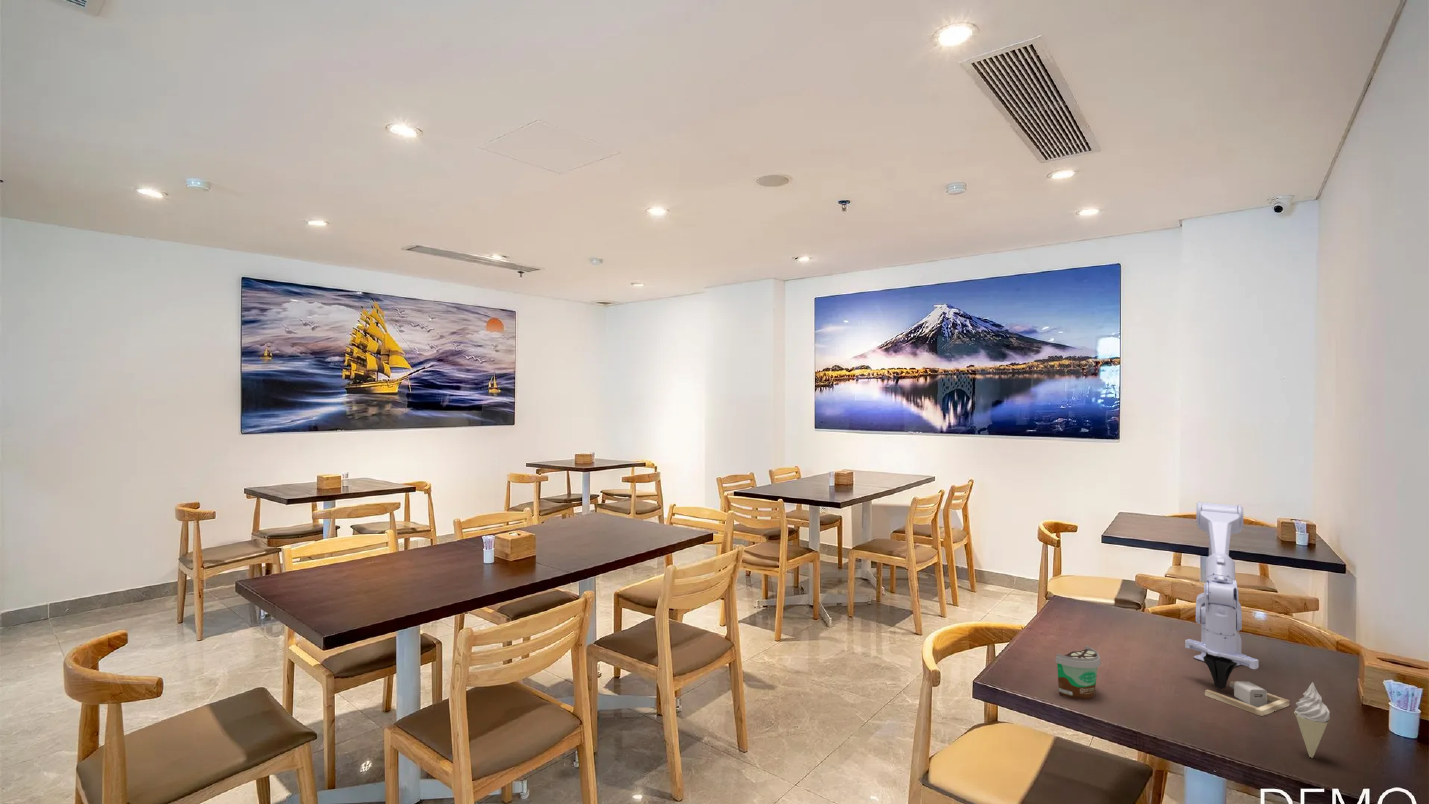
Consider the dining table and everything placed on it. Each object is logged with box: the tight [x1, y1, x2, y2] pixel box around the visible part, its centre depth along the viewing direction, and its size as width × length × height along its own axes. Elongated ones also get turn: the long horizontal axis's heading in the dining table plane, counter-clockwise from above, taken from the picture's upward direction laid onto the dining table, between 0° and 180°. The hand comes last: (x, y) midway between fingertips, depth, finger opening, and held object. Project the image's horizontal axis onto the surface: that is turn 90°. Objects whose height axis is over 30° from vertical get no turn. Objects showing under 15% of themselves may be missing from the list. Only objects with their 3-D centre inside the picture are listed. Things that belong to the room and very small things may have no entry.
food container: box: [1055, 645, 1102, 701], centre depth 149 cm, size 12×6×10 cm, turn 117°
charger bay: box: [1204, 681, 1291, 717], centre depth 147 cm, size 12×11×1 cm
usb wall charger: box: [1228, 680, 1268, 708], centre depth 148 cm, size 4×7×4 cm, turn 0°
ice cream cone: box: [1293, 681, 1331, 759], centre depth 123 cm, size 5×5×15 cm
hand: (1220, 687), depth 152 cm, fingers closed
